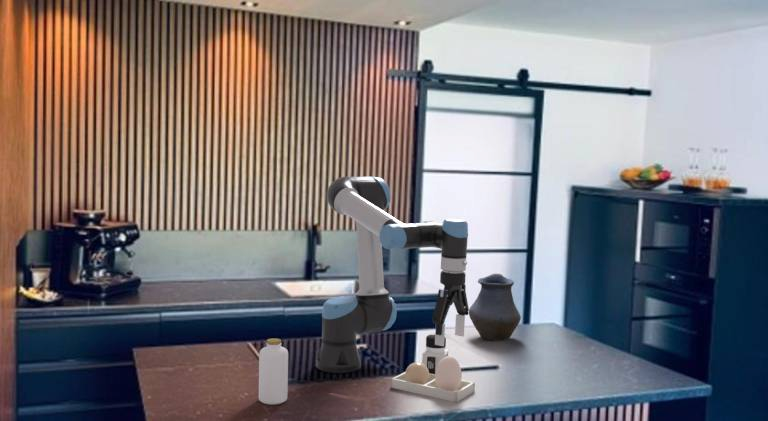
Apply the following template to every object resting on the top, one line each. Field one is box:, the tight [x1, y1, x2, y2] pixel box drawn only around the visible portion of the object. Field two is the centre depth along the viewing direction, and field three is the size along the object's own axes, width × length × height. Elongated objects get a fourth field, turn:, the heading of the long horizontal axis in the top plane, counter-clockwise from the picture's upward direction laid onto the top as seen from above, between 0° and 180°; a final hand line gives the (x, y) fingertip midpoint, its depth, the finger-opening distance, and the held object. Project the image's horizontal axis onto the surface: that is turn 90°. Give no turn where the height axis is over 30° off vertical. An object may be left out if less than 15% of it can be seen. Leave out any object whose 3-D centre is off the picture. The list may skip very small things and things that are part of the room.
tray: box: [390, 371, 476, 403], centre depth 225 cm, size 23×12×4 cm, turn 59°
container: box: [421, 333, 449, 374], centre depth 244 cm, size 8×8×13 cm
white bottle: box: [258, 338, 289, 406], centre depth 213 cm, size 8×8×18 cm
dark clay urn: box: [468, 273, 522, 341], centre depth 293 cm, size 21×22×25 cm
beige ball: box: [405, 361, 429, 385], centre depth 228 cm, size 7×7×7 cm
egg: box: [435, 355, 463, 391], centre depth 222 cm, size 8×8×11 cm
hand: (449, 340), depth 222 cm, fingers open, 13 cm apart
